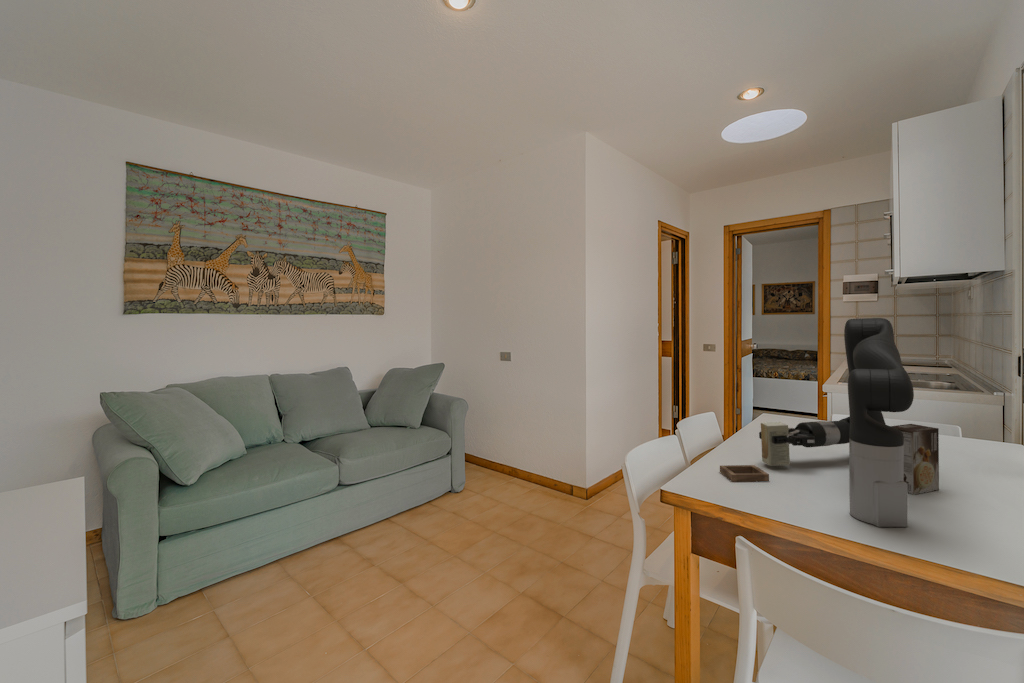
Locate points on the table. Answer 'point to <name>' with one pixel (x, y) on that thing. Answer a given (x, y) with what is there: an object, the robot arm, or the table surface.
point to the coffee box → (920, 457)
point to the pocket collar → (744, 473)
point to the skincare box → (771, 451)
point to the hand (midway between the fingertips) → (766, 437)
